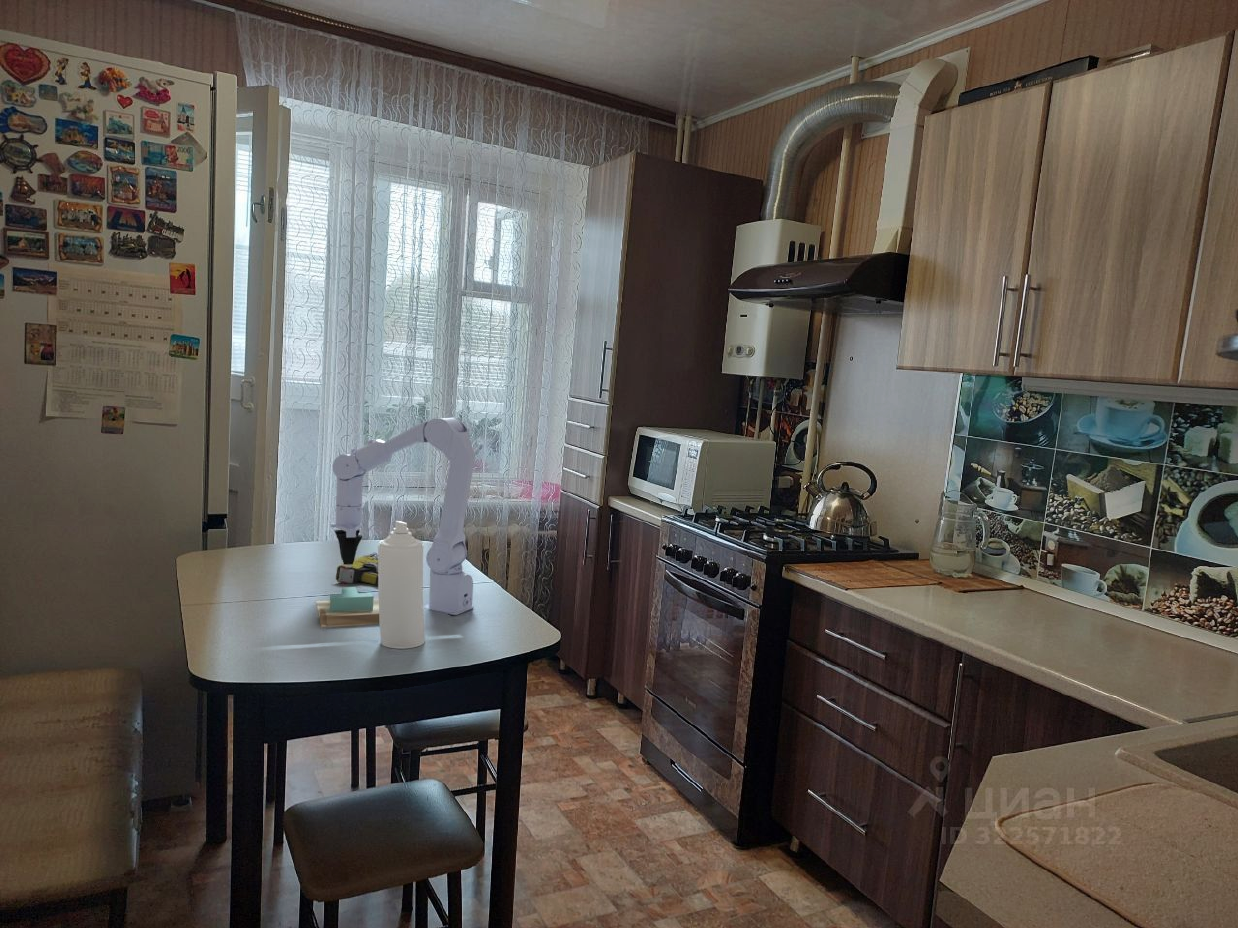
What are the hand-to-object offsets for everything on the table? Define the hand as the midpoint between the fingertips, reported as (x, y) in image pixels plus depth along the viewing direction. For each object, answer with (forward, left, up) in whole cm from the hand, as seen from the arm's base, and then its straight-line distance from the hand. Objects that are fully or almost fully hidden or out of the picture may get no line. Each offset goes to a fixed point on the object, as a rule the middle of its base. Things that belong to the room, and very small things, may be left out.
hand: (347, 561), depth 192 cm
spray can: (-31, +21, -9) cm, 39 cm away
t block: (-7, +7, -8) cm, 12 cm away
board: (-10, +10, -8) cm, 17 cm away
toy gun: (+6, -20, -9) cm, 23 cm away
